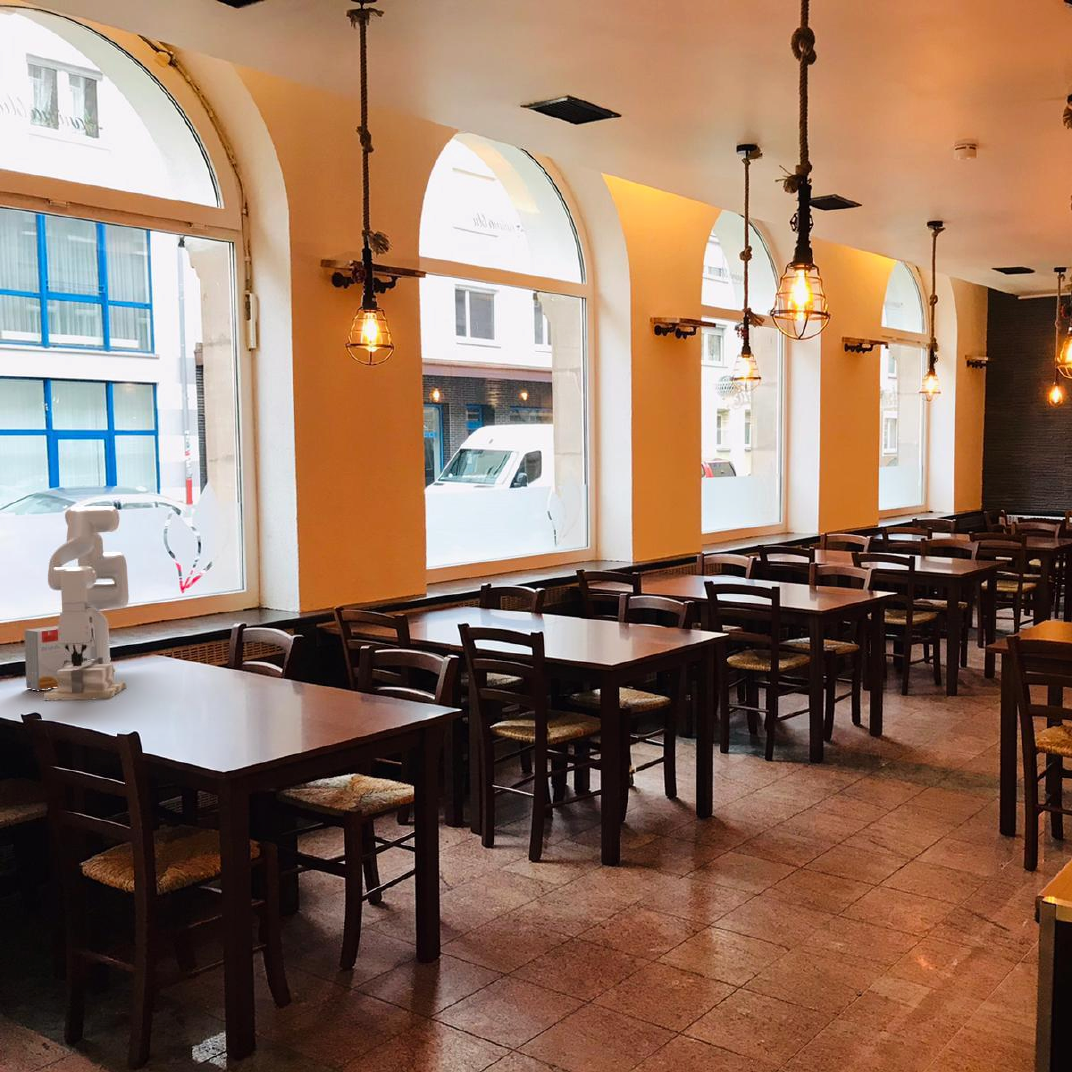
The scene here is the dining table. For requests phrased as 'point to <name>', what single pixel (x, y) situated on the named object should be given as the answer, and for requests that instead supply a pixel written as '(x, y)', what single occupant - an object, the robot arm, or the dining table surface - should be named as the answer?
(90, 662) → the latch bar
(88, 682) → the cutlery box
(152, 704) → the dining table surface
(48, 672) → the hard drive box
